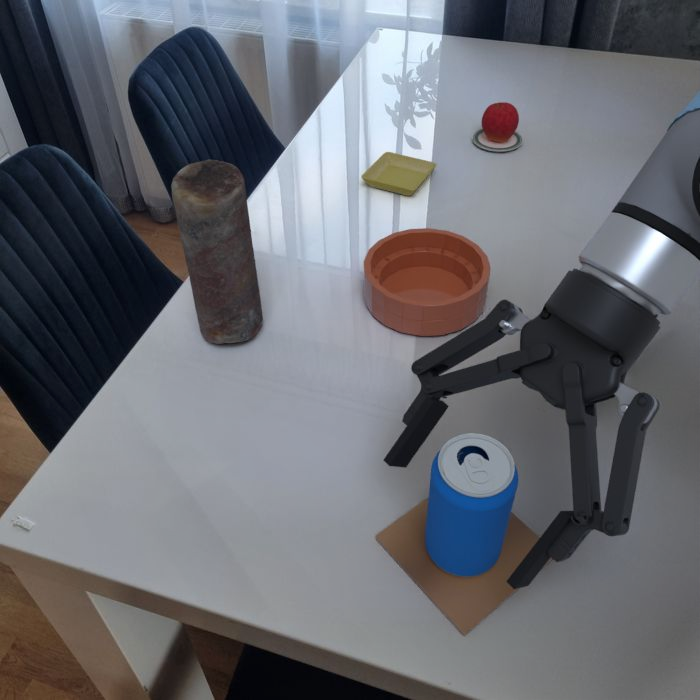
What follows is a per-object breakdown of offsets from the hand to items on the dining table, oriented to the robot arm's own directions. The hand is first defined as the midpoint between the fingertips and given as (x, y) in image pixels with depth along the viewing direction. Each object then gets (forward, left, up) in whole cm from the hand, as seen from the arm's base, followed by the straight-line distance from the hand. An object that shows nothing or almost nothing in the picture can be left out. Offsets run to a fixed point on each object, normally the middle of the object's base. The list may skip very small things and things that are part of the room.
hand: (451, 519), depth 53 cm
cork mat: (0, -2, -7) cm, 7 cm away
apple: (+48, -57, -7) cm, 75 cm away
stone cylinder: (+37, -1, -7) cm, 38 cm away
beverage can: (0, -2, -7) cm, 7 cm away
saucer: (+49, -37, -7) cm, 62 cm away
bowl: (+27, -22, -7) cm, 36 cm away
